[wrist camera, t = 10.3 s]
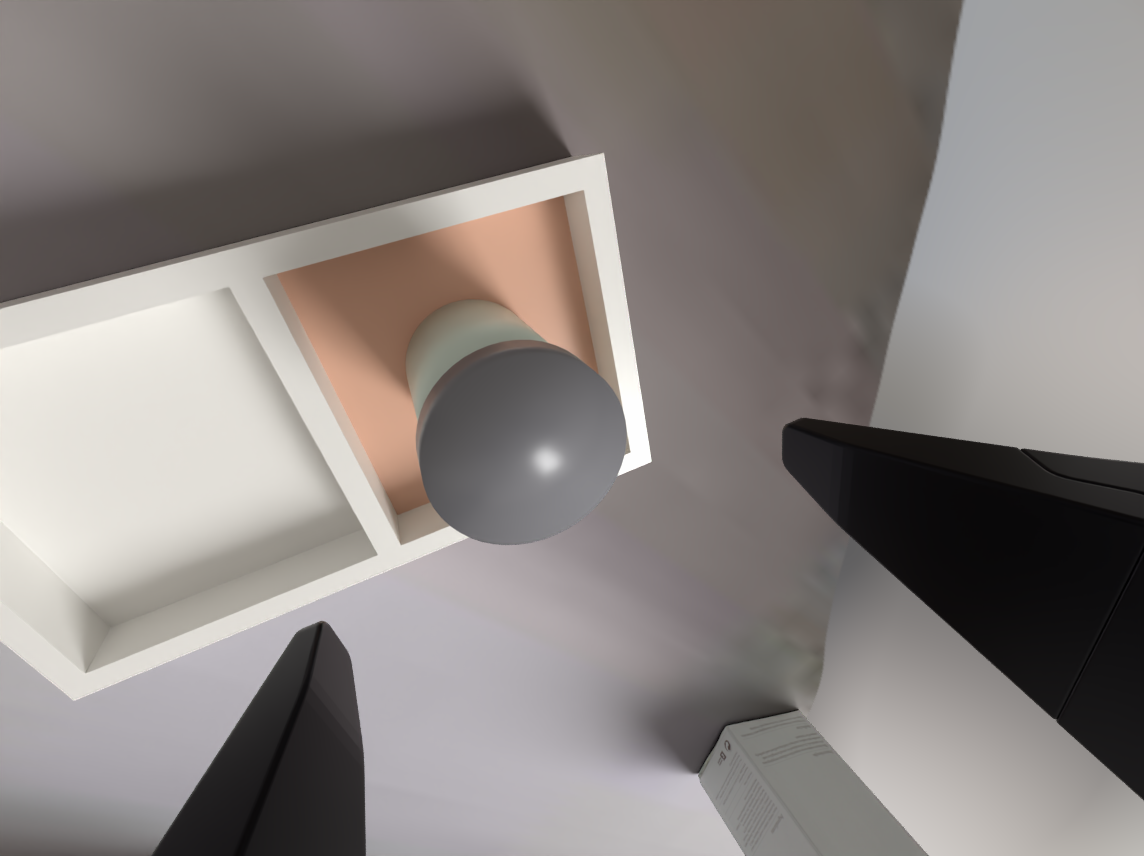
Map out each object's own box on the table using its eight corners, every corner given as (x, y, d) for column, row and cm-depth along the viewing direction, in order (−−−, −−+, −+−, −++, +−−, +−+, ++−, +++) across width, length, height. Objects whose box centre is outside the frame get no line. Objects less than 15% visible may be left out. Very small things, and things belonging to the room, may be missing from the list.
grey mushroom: (429, 449, 18) (463, 574, 13) (374, 319, 16) (384, 401, 10) (555, 402, 20) (639, 498, 14) (521, 274, 17) (608, 324, 11)
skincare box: (694, 775, 38) (860, 1069, 25) (725, 718, 36) (921, 1005, 23) (774, 757, 41) (953, 1006, 29) (806, 704, 40) (1012, 946, 27)
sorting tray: (107, 639, 18) (74, 701, 16) (-195, 352, 12) (-310, 388, 10) (623, 435, 22) (651, 461, 20) (572, 156, 17) (603, 152, 14)
